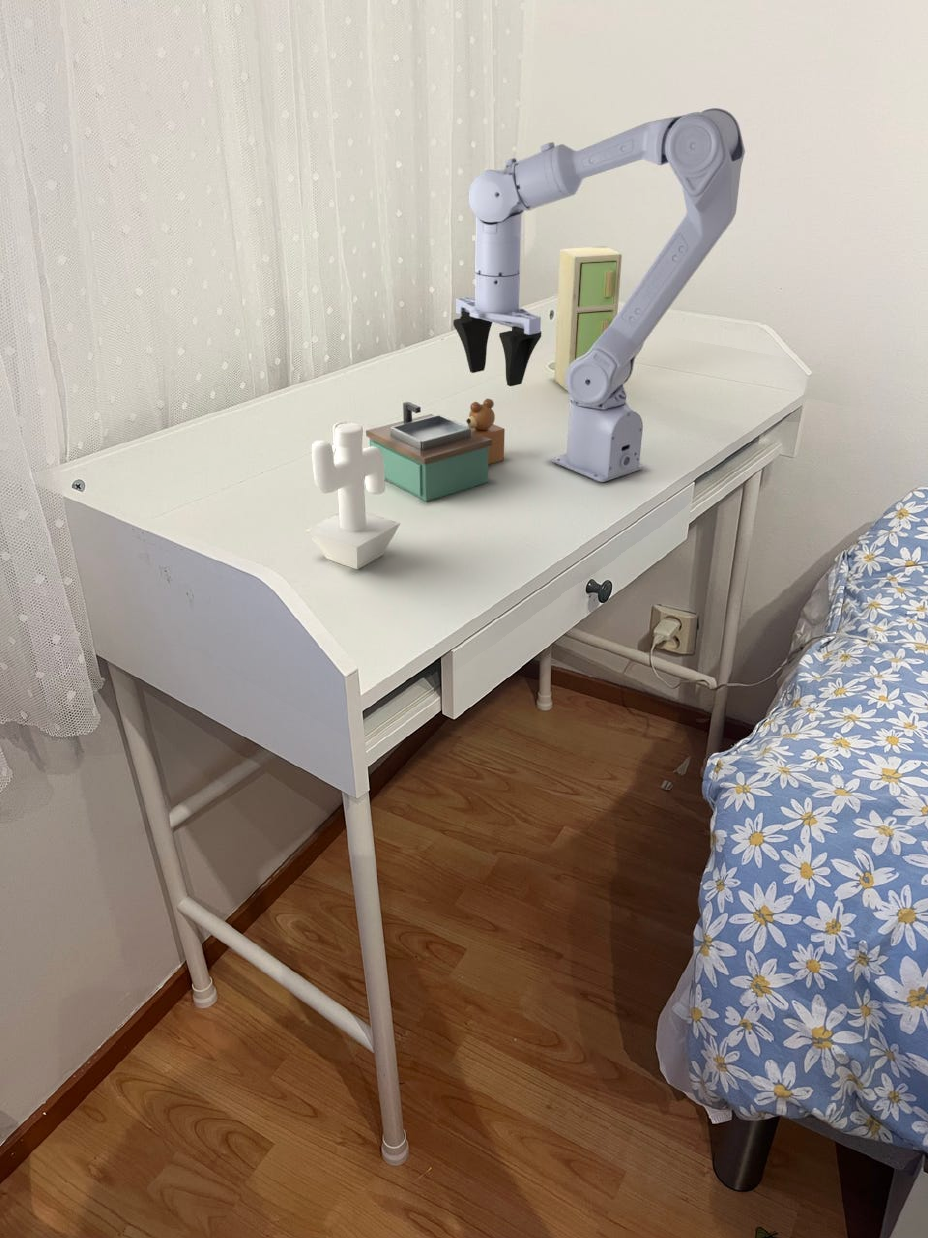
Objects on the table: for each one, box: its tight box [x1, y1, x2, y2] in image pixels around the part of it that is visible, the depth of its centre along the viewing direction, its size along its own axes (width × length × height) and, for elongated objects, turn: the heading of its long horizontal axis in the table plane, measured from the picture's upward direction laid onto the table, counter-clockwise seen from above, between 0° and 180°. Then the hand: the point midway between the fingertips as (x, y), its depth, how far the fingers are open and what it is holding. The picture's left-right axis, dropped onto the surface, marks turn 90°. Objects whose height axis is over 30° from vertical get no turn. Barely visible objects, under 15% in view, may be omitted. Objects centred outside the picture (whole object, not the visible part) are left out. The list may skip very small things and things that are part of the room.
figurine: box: [305, 420, 401, 570], centre depth 103 cm, size 7×9×15 cm
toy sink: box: [365, 401, 492, 502], centre depth 124 cm, size 13×11×9 cm
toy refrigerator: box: [553, 246, 623, 392], centre depth 155 cm, size 8×7×21 cm
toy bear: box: [465, 398, 506, 465], centre depth 129 cm, size 4×5×8 cm
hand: (495, 377), depth 130 cm, fingers open, 7 cm apart
